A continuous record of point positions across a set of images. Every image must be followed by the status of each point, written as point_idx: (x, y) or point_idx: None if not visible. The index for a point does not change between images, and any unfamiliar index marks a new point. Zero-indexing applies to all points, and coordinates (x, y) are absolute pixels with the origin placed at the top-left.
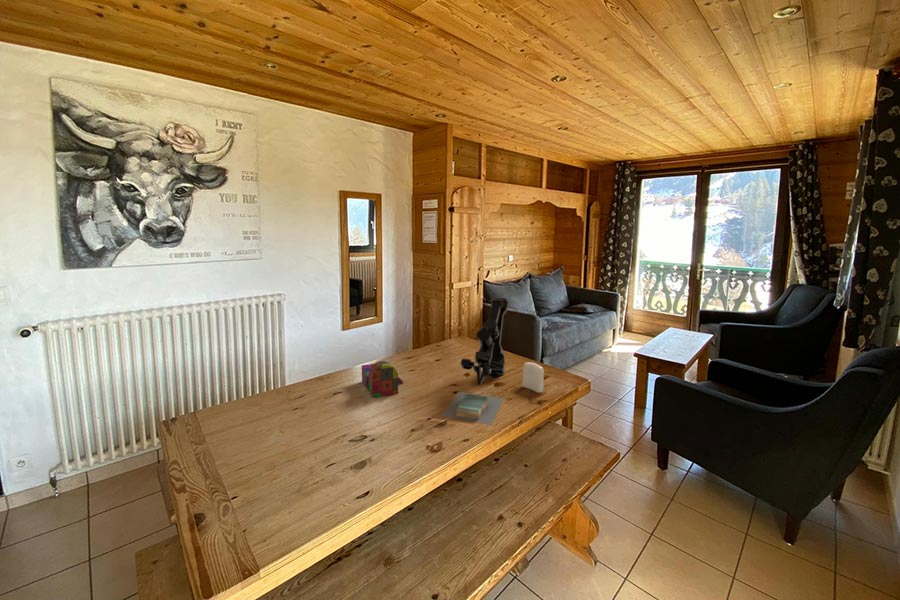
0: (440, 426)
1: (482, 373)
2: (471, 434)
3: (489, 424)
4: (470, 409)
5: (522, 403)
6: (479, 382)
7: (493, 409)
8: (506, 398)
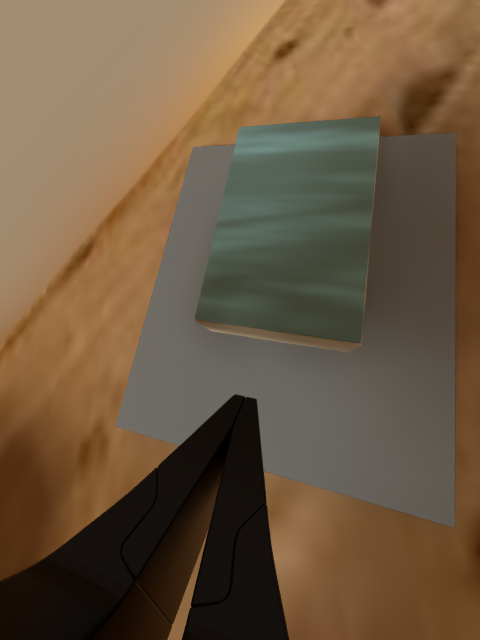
0: (420, 82)
1: (137, 538)
2: (269, 85)
3: (201, 147)
4: (288, 128)
5: (42, 396)
6: (236, 405)
7: (180, 277)
8: (105, 455)
